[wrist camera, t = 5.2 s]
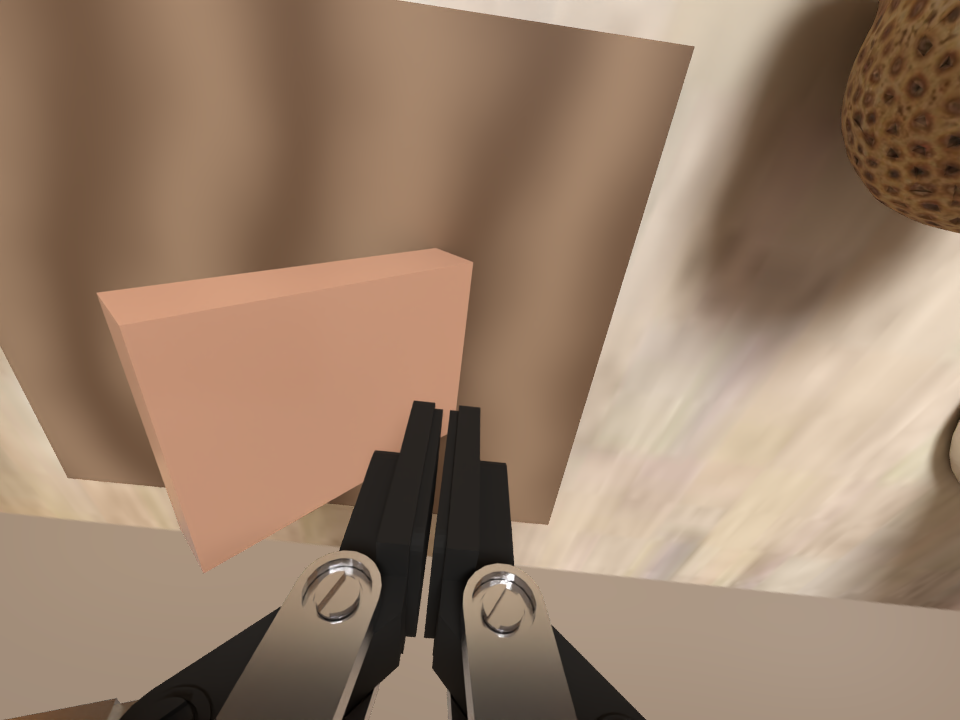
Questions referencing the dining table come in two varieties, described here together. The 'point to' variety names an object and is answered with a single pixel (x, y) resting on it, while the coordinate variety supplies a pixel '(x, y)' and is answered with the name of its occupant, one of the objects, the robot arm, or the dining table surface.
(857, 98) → the natural sponge
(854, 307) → the dining table surface
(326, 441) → the tile
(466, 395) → the board
